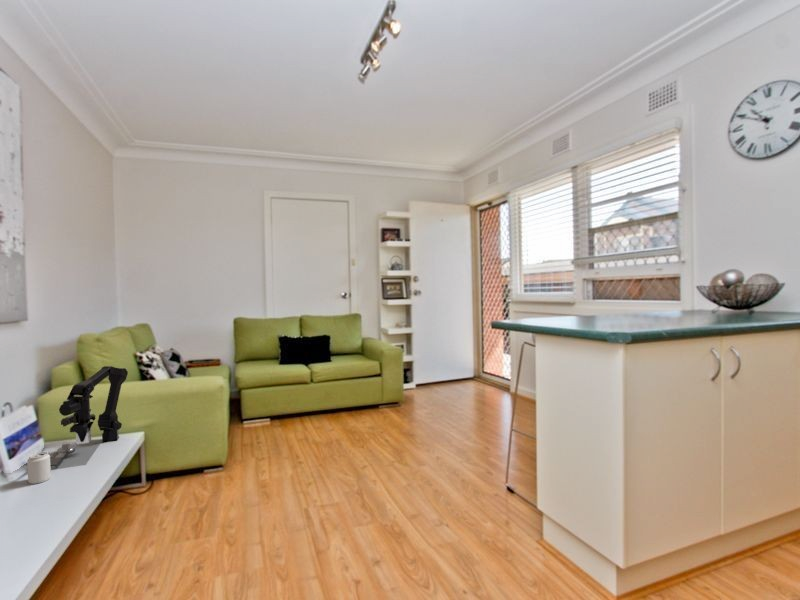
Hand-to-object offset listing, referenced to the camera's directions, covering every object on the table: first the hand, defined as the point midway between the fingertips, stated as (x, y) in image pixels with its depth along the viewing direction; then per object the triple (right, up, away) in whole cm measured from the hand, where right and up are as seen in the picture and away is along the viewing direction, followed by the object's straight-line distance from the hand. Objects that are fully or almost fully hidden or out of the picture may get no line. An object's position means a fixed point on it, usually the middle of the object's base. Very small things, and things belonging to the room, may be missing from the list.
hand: (83, 439), depth 206 cm
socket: (0, -1, 0) cm, 1 cm away
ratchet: (-7, -8, -6) cm, 12 cm away
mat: (-4, -8, -2) cm, 9 cm away
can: (+1, -9, -26) cm, 28 cm away
